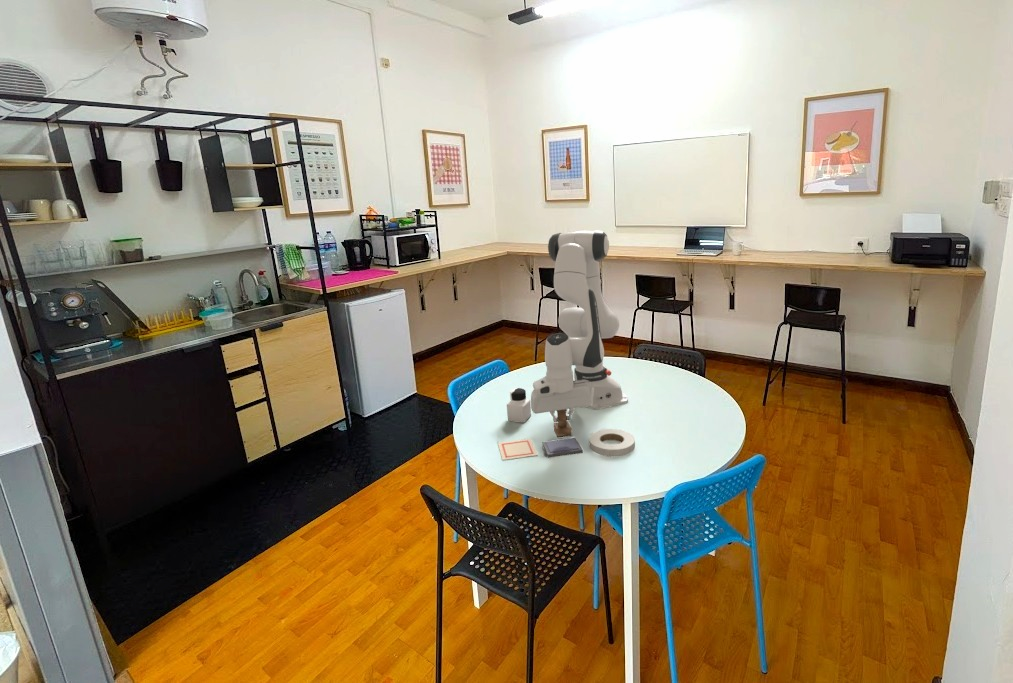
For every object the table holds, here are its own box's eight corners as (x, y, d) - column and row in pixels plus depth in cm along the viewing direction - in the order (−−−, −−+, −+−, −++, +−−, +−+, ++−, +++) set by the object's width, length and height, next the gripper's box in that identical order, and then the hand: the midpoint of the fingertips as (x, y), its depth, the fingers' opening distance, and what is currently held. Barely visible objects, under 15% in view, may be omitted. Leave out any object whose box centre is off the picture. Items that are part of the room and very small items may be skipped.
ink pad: (575, 440, 181) (575, 436, 180) (583, 453, 172) (582, 449, 172) (542, 445, 179) (542, 441, 179) (548, 457, 171) (547, 453, 170)
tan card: (530, 439, 184) (530, 438, 184) (537, 455, 173) (537, 454, 173) (497, 443, 183) (497, 442, 183) (502, 460, 171) (502, 459, 171)
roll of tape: (586, 436, 184) (586, 429, 183) (629, 434, 183) (629, 427, 182) (592, 458, 169) (592, 450, 168) (639, 456, 168) (639, 448, 168)
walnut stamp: (568, 428, 177) (566, 399, 174) (572, 435, 173) (570, 406, 169) (553, 431, 177) (552, 401, 173) (557, 438, 172) (555, 408, 169)
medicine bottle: (531, 415, 203) (529, 387, 199) (524, 423, 197) (522, 394, 193) (514, 413, 206) (513, 385, 202) (507, 420, 200) (505, 392, 196)
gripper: (587, 375, 173) (588, 411, 177) (528, 383, 171) (531, 420, 175) (593, 381, 167) (594, 420, 171) (532, 390, 165) (534, 429, 169)
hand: (562, 420), depth 173 cm, fingers closed on walnut stamp, 3 cm apart
